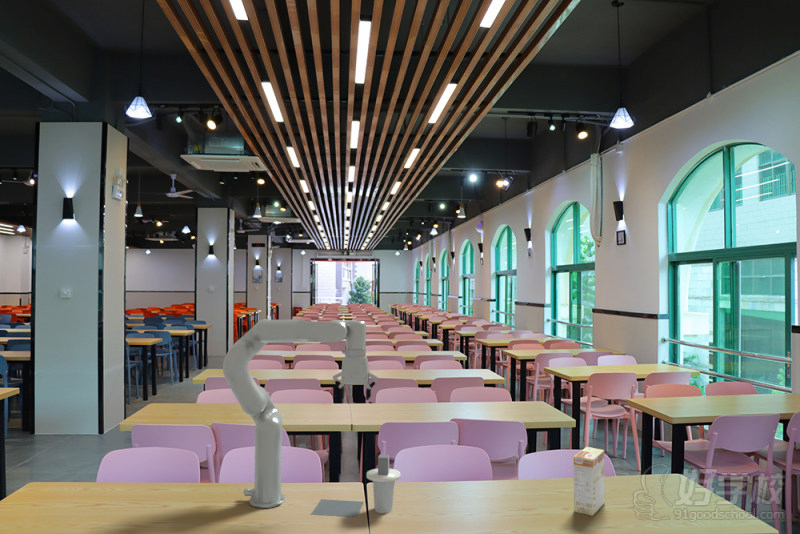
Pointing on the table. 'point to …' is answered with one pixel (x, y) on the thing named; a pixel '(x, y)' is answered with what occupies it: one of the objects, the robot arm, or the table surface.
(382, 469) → the lid
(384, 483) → the cup
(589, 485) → the coffeecake box
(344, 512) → the mat
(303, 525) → the table surface
